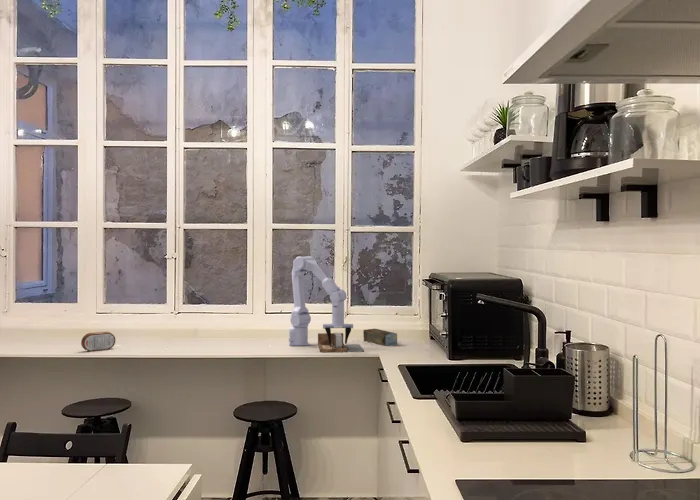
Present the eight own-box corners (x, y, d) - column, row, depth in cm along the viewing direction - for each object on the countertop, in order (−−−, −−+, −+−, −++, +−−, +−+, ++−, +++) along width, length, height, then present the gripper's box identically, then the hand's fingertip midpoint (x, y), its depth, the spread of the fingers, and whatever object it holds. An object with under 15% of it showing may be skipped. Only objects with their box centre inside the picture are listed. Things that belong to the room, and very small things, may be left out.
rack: (320, 352, 276) (320, 339, 275) (317, 345, 295) (317, 333, 295) (347, 351, 277) (347, 339, 277) (343, 345, 296) (343, 333, 296)
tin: (113, 348, 284) (113, 330, 284) (116, 349, 282) (116, 331, 282) (80, 351, 274) (80, 333, 274) (83, 352, 272) (83, 334, 272)
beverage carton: (385, 346, 294) (385, 333, 294) (362, 341, 309) (362, 328, 309) (397, 345, 298) (397, 332, 298) (374, 340, 314) (374, 327, 314)
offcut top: (323, 351, 279) (323, 349, 279) (321, 346, 292) (321, 345, 292) (331, 351, 279) (331, 349, 279) (328, 346, 292) (328, 344, 292)
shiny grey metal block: (336, 350, 280) (336, 335, 280) (334, 346, 291) (334, 332, 291) (341, 350, 281) (342, 335, 281) (339, 346, 292) (339, 332, 292)
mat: (349, 351, 278) (349, 350, 278) (345, 345, 295) (345, 344, 295) (363, 351, 278) (363, 350, 278) (359, 345, 296) (359, 344, 296)
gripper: (323, 316, 281) (323, 345, 281) (354, 316, 283) (353, 344, 283) (322, 314, 288) (322, 342, 288) (352, 314, 290) (352, 342, 290)
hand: (337, 343), depth 286 cm, fingers open, 7 cm apart
